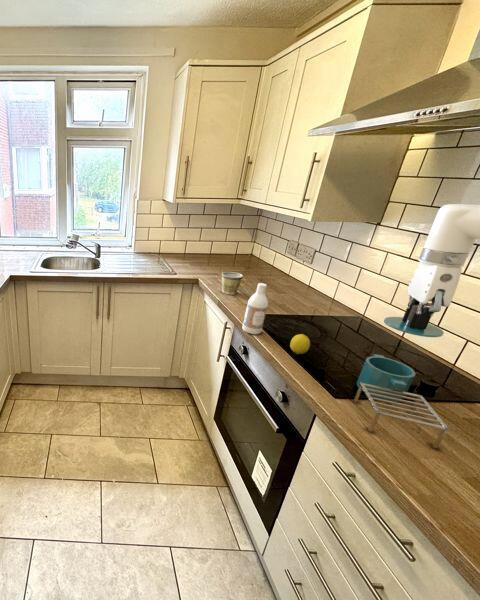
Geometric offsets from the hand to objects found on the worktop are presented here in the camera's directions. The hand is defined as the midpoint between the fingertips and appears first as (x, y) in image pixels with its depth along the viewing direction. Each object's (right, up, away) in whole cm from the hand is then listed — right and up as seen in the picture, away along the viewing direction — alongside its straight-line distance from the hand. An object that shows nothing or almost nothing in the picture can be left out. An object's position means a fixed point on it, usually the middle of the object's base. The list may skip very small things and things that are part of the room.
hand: (413, 324), depth 83 cm
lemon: (-11, -13, +29) cm, 33 cm away
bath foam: (-18, -6, +45) cm, 49 cm away
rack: (-8, -25, -2) cm, 26 cm away
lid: (0, -1, 0) cm, 1 cm away
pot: (+1, -20, +10) cm, 23 cm away
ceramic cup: (-8, +10, +84) cm, 85 cm away
